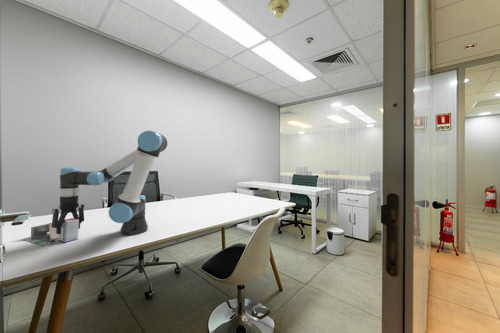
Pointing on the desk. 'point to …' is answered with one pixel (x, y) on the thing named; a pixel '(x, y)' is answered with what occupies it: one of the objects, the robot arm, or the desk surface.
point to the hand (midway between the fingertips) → (68, 237)
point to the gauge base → (41, 235)
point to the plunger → (50, 233)
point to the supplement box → (70, 230)
